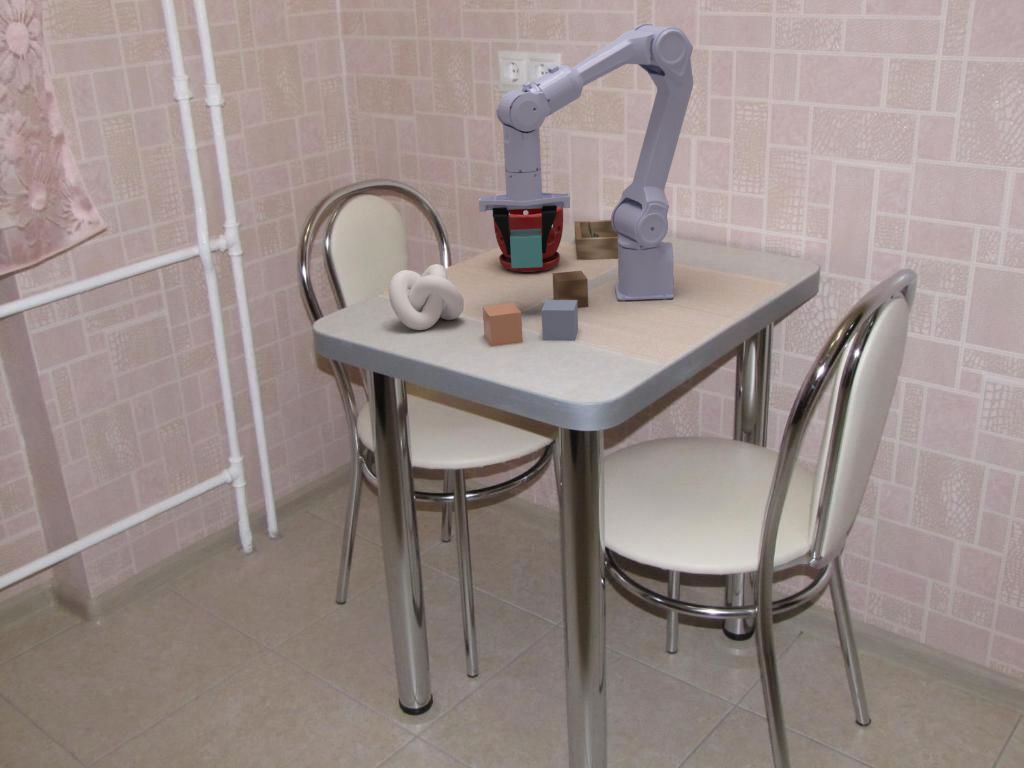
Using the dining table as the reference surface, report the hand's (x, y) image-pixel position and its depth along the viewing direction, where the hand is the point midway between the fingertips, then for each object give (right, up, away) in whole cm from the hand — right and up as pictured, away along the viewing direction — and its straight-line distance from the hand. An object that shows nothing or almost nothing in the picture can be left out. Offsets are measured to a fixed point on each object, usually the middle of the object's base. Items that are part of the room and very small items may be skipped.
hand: (526, 252), depth 173 cm
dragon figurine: (+13, +5, +38) cm, 40 cm away
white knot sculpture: (-16, -12, +2) cm, 19 cm away
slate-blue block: (+5, -14, -6) cm, 16 cm away
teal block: (0, -2, +1) cm, 2 cm away
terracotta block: (-4, -15, -7) cm, 16 cm away
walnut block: (+8, -8, +7) cm, 13 cm away
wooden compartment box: (+17, +5, +37) cm, 42 cm away
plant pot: (+1, +1, +29) cm, 29 cm away
